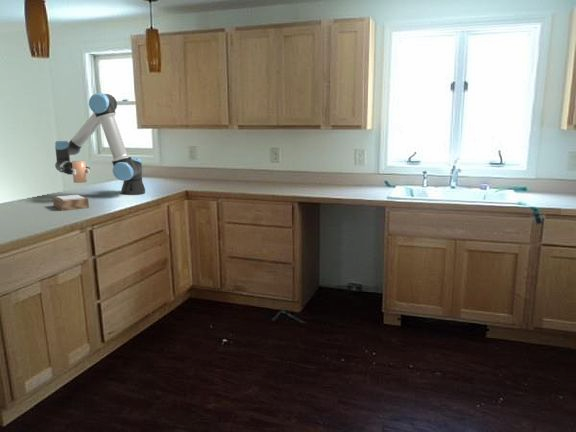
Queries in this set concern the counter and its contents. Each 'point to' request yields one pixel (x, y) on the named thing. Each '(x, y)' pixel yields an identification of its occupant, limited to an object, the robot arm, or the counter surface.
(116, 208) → the counter surface
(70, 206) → the walnut base
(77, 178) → the peach glossy cylinder
